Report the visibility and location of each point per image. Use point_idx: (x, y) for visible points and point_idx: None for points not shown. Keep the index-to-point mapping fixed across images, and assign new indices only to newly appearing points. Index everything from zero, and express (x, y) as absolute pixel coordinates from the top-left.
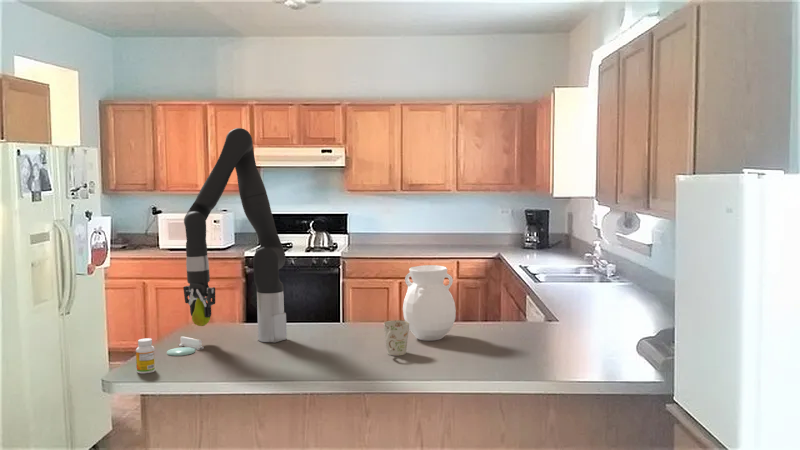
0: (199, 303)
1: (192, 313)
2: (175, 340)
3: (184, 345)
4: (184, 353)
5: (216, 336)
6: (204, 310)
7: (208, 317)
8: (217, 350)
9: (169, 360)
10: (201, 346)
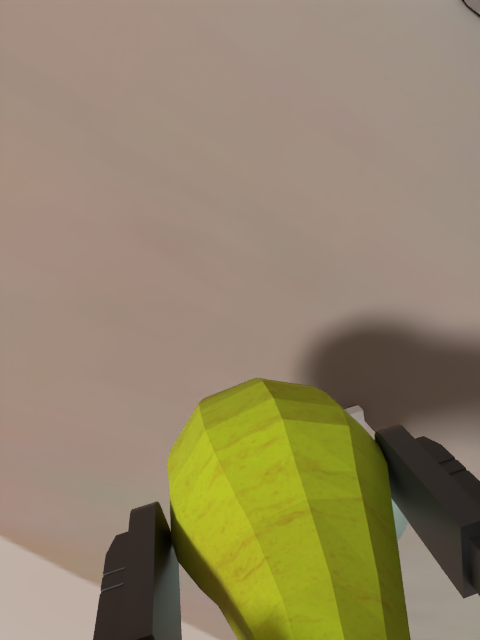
0: None
1: (176, 575)
2: (22, 468)
3: None
4: (405, 524)
5: (94, 183)
6: (433, 552)
7: (370, 436)
8: (449, 363)
9: (419, 582)
10: (366, 425)
